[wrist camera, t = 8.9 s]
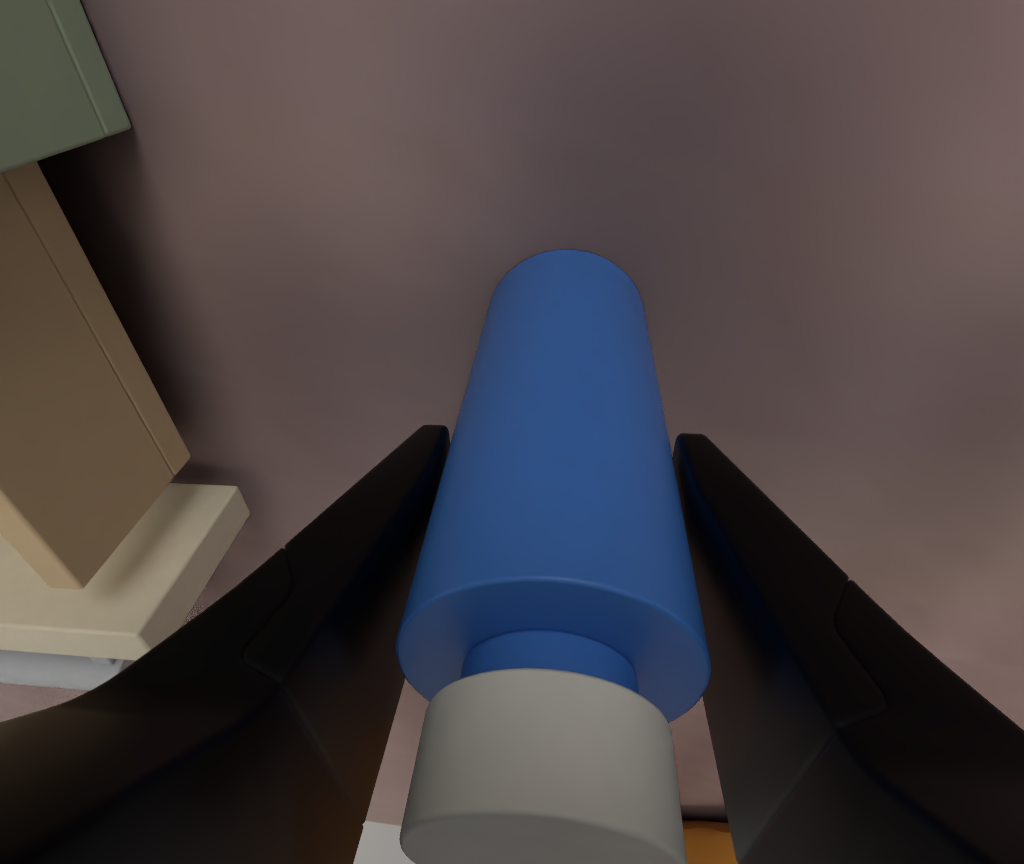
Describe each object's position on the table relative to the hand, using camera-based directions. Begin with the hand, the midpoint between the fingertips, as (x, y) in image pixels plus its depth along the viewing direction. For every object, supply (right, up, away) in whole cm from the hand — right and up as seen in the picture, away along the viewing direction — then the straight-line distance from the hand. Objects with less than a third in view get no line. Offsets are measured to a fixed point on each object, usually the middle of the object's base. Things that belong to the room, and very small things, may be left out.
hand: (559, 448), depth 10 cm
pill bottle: (0, +3, +3) cm, 4 cm away
